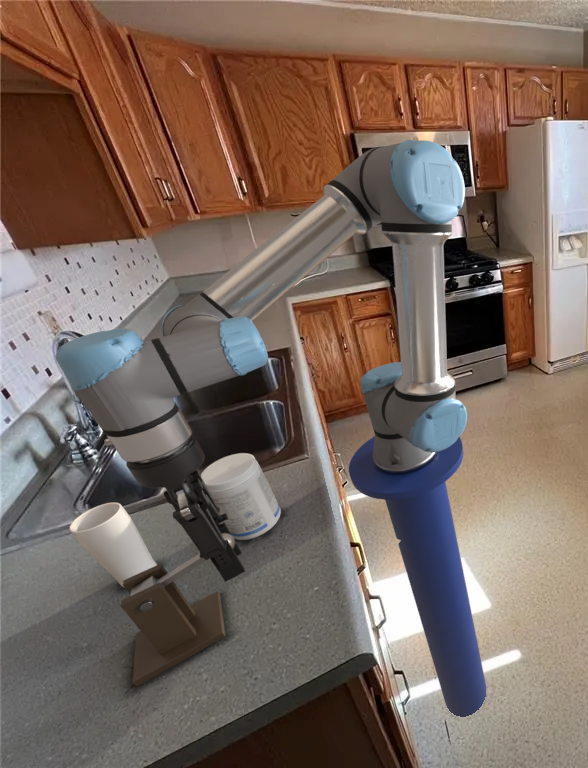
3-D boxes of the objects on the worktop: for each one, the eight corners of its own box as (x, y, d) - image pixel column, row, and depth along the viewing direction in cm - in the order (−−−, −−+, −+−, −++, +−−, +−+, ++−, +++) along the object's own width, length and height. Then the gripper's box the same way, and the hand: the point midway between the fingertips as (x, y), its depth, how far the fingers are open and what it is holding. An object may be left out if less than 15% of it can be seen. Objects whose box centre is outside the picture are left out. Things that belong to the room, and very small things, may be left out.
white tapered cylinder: (109, 585, 74) (59, 525, 67) (151, 556, 79) (109, 497, 72) (129, 599, 71) (79, 537, 64) (171, 567, 76) (130, 507, 69)
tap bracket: (220, 595, 70) (187, 543, 64) (225, 637, 64) (188, 582, 58) (139, 637, 65) (94, 584, 59) (136, 687, 58) (85, 633, 52)
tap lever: (238, 537, 66) (224, 523, 64) (241, 551, 63) (226, 538, 61) (146, 596, 61) (128, 583, 59) (145, 614, 58) (125, 601, 56)
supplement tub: (254, 504, 90) (227, 450, 83) (292, 508, 88) (267, 453, 81) (218, 540, 81) (184, 483, 74) (259, 545, 79) (228, 487, 72)
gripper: (128, 431, 58) (202, 545, 69) (117, 494, 46) (209, 620, 57) (191, 411, 62) (252, 522, 73) (196, 464, 50) (268, 588, 61)
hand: (233, 565), depth 65 cm, fingers closed on tap lever, 4 cm apart
